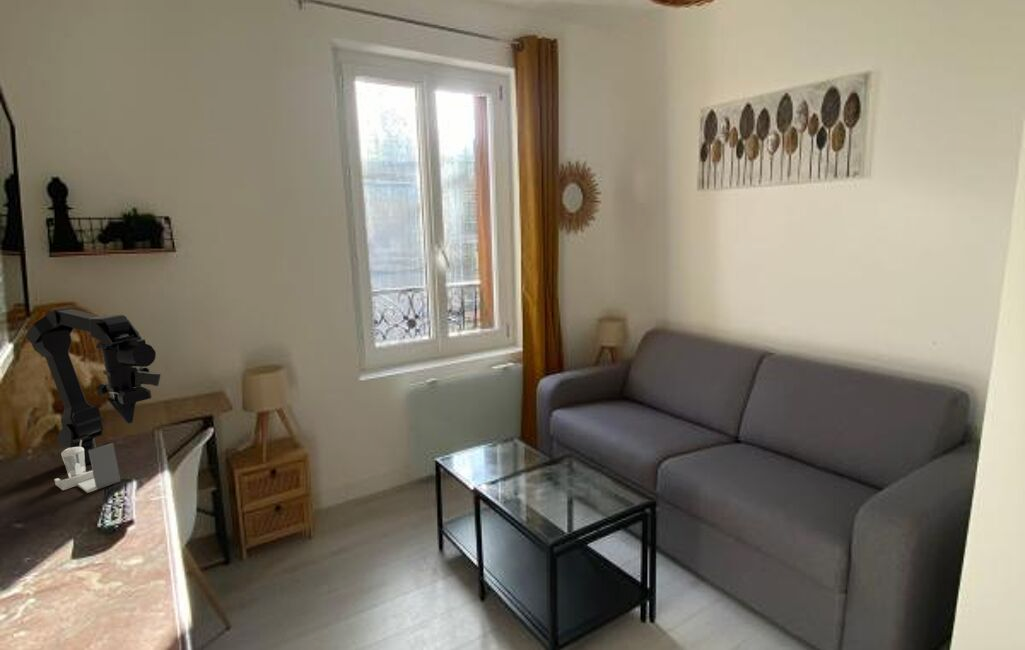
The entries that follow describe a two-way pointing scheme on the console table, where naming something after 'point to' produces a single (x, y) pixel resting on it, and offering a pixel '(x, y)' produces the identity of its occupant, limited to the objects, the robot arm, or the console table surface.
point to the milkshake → (74, 460)
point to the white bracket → (95, 471)
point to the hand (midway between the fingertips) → (129, 422)
